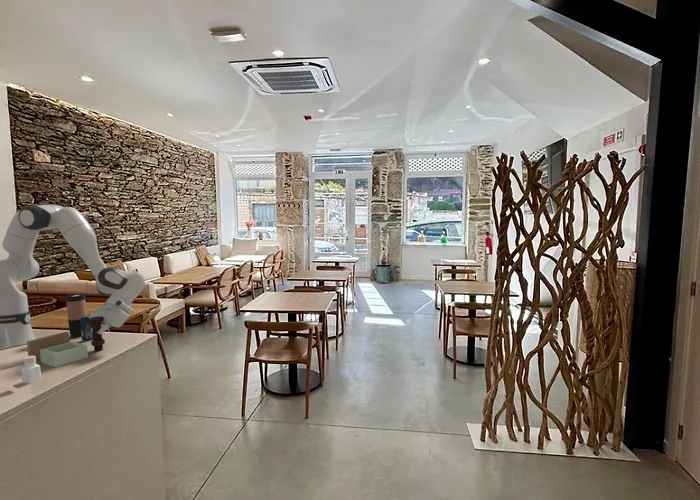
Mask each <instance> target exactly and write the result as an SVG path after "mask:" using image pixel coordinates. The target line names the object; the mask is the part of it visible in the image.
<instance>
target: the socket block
mask: <svg viewBox="0 0 700 500" xmlns="http://www.w3.org/2000/svg"><path fill="white" fill-rule="evenodd" d="M88 352H89V351H88V345H87V344H82V343H79V342H76V341H70V342H68V343H64V344H61V345H57V346H53V347H49V348H45V349H41V350H40V358H41V359H40V363H41V364H43V365H48V366H50V367H52V368H58V367H62V366H65V365H69V364H72V363H75V362H78V361H82V360H85V359H88V358H89V353H88Z"/></svg>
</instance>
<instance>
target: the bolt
mask: <svg viewBox="0 0 700 500" xmlns="http://www.w3.org/2000/svg"><path fill="white" fill-rule="evenodd" d="M103 320H104V317H102V316H97V317H92V318H89V319H88V322H89V323H92V329H93V340H90V341H91V342H90V343H91V346H92V347H93V349H94V352H101V351H103V350H104V345H105V343H106V341H105V339H104V338H103V333H102V334H98V333H97V331H98V329H100V328H101V327H102V324H101V322H102V321H103Z"/></svg>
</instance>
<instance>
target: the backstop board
mask: <svg viewBox="0 0 700 500" xmlns="http://www.w3.org/2000/svg"><path fill="white" fill-rule="evenodd" d="M68 342H71V341H70V331H63V332H59V333H54V334H50V335H45V336H41V337H39V338H36V339H34V340H29V341H27V344H26V347H27V357H28V356H36V361H38V360H41V358H40V350H41V349H45V348H49V347H53V346H57V345H61V344H64V343H68Z"/></svg>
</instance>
